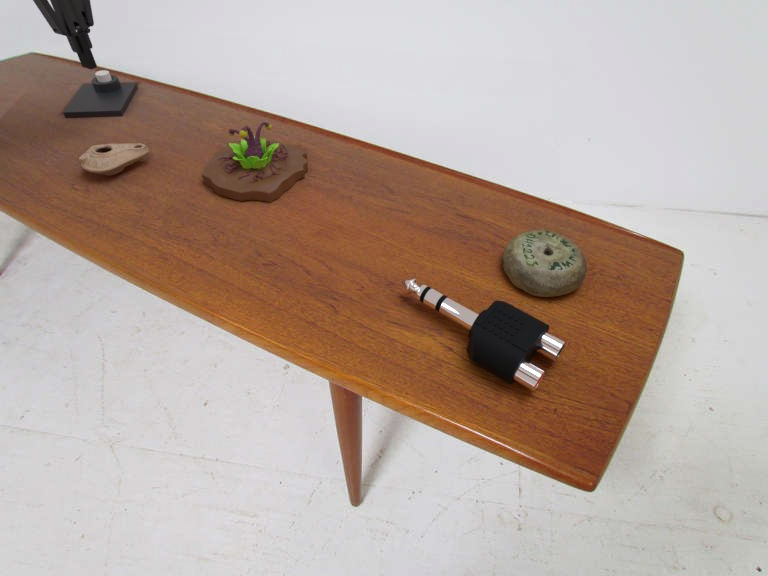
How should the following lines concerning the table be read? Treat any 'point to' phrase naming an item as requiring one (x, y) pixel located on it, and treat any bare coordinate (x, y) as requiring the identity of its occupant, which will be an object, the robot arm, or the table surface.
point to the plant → (255, 167)
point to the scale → (101, 99)
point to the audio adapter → (497, 335)
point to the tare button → (103, 76)
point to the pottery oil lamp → (112, 157)
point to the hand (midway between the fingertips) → (89, 66)
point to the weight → (544, 263)
